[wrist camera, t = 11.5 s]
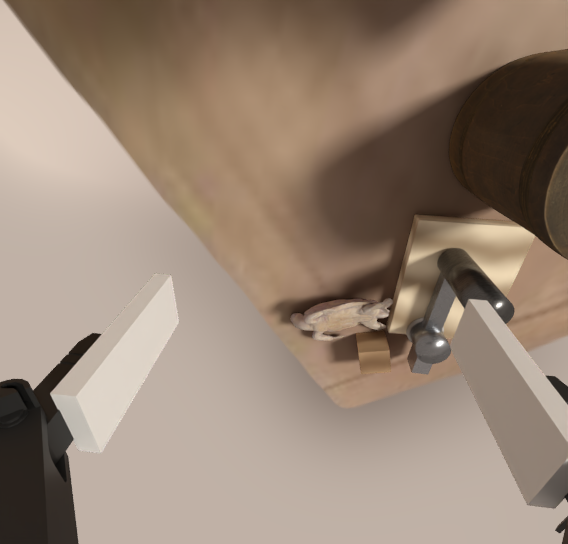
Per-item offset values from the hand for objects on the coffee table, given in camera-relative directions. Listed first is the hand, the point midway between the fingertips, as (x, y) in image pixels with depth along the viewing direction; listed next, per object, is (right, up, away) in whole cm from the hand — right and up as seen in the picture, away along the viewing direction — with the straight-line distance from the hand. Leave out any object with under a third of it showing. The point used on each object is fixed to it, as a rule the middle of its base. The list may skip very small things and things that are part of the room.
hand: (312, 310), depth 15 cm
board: (+22, +1, +30) cm, 38 cm away
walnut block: (+13, -10, +38) cm, 41 cm away
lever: (+20, -4, +30) cm, 37 cm away
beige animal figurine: (+8, -4, +35) cm, 36 cm away
